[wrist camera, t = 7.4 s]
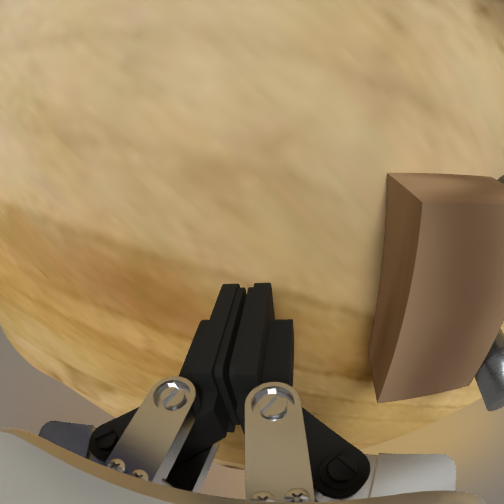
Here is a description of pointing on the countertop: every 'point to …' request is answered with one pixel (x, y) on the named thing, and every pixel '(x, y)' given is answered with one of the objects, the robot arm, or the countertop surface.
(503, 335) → the bench dogs
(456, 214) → the block
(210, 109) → the countertop surface
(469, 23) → the countertop surface
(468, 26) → the countertop surface
